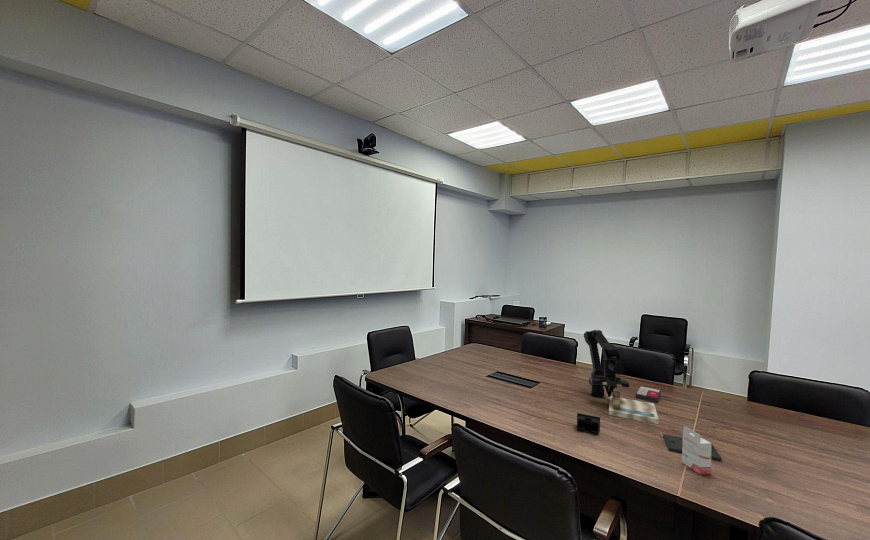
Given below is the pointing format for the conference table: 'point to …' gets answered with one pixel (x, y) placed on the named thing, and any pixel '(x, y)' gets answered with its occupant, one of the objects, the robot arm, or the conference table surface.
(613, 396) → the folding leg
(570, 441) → the conference table surface
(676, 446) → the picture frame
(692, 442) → the ink cartridge box
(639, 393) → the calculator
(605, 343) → the robot arm
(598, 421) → the end cap
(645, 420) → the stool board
